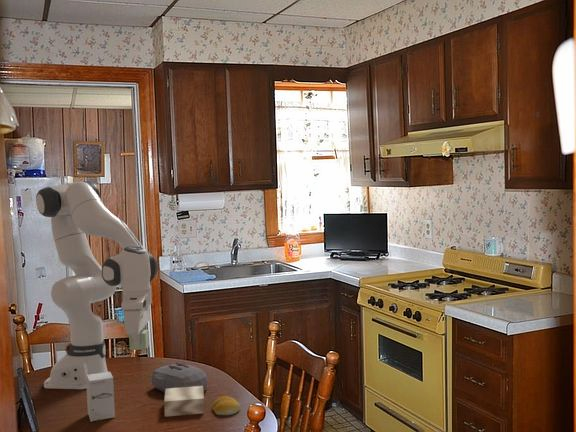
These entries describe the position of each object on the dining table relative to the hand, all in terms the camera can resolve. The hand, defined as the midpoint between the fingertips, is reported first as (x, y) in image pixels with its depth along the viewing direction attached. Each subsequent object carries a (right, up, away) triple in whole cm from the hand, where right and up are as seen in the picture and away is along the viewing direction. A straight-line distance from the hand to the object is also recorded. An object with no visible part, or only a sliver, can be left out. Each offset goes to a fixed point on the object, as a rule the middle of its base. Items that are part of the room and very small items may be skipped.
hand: (139, 342), depth 198 cm
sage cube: (0, -2, 0) cm, 2 cm away
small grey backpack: (+10, -20, +19) cm, 29 cm away
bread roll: (+27, -21, -2) cm, 35 cm away
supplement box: (-11, -22, -4) cm, 25 cm away
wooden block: (+14, -21, +1) cm, 25 cm away
